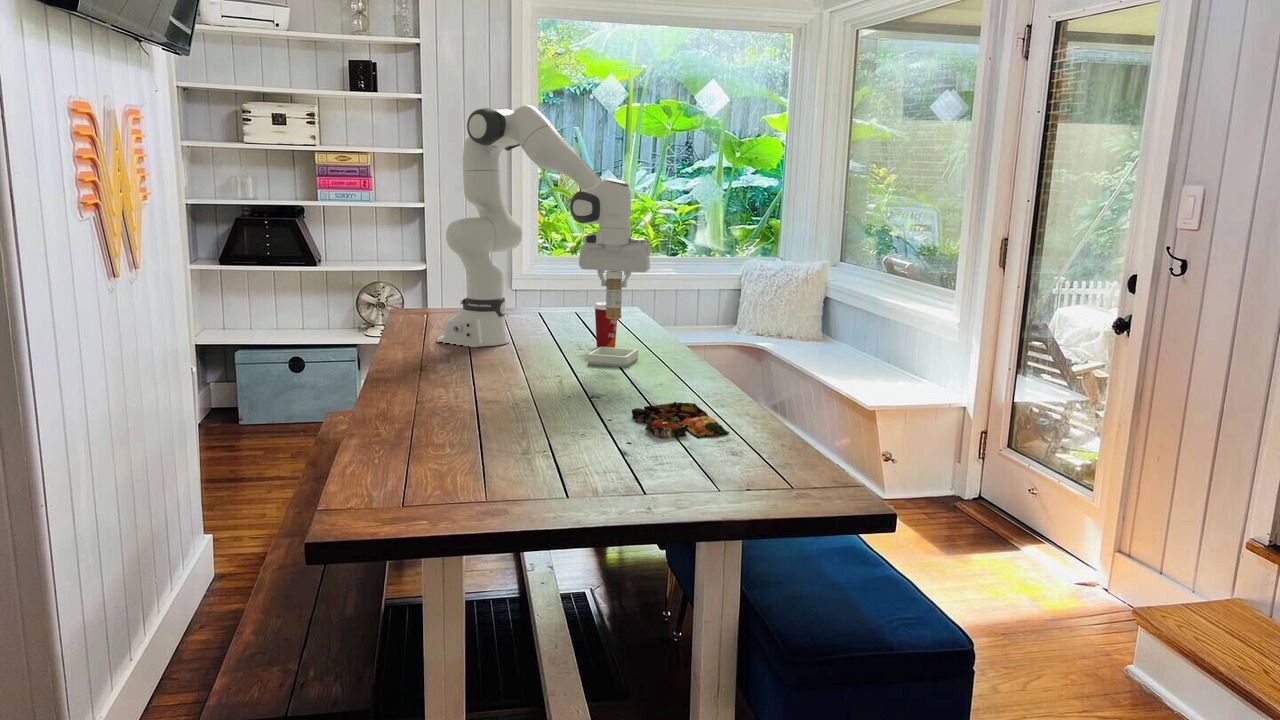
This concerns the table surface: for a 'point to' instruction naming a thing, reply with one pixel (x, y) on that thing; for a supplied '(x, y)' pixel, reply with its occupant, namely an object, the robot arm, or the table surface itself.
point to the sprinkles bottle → (613, 295)
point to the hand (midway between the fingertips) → (614, 286)
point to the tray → (613, 357)
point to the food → (677, 420)
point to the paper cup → (604, 327)
